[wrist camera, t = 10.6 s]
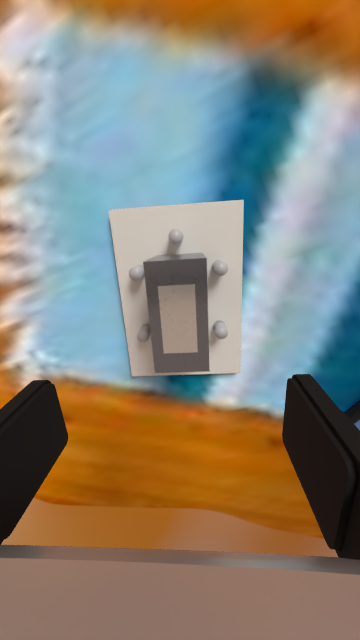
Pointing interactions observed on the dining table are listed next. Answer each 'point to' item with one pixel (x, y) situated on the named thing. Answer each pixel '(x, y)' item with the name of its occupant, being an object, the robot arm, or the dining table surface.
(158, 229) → the pin tray
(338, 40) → the dining table surface
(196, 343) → the block
